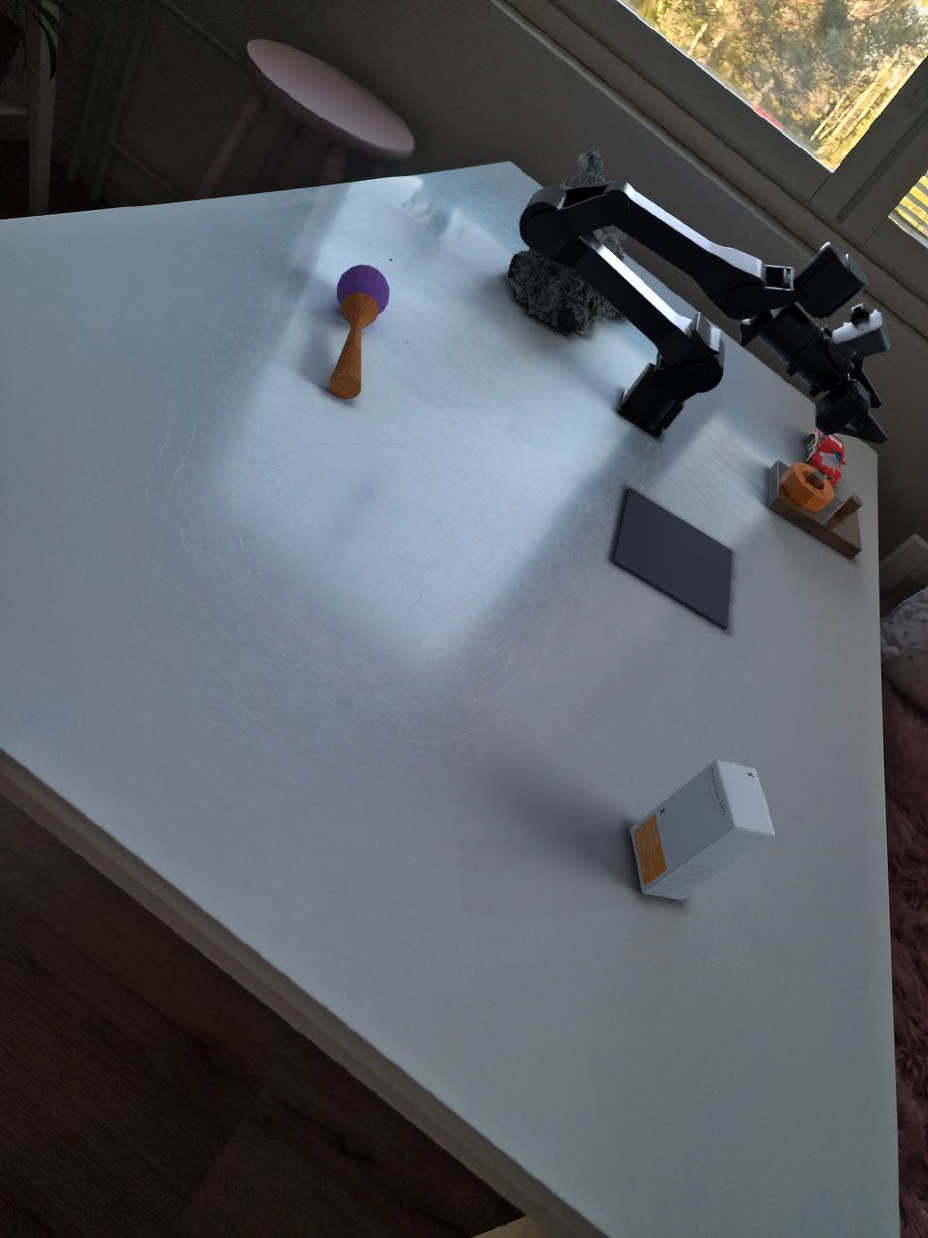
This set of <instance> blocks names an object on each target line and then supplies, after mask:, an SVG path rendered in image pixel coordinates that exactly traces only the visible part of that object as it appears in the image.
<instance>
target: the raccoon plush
mask: <svg viewBox="0 0 928 1238" xmlns="http://www.w3.org/2000/svg"><path fill="white" fill-rule="evenodd" d="M601 157H602V155H601V153H599V150H596V149H595V146H592V147H591V148H590V149H589V150H587V152H584V153H580V154H579V156H578V157H577V165H578V166H577V168H578V172H576V173H574V174H573V175H571V177H569V178H567V179H565V181H562V183H561V184H559V185H556V186H557V187H560V188H562V189H563V190H565V189H569V188H573V187H577V186H588V185H602V184H607V183H611V182H614V181H613V180H610V179H606V176H605V175H604V173H605V169H604V167H605V166H604V162H603V159H601ZM593 233H594V235H595V236H596V238H597V239H598V240H599V241H600V242H601V243H602V244H603V245H604V246H605V247H606V248H607V249H608V250H609V251H610V252H612V253H613V254H614V255H615V256H616V257H617V258H618V259H619V260H620V261H621V262H622V263H623V264H624V261H625V259H626V256H625V255H624V252H623V251H624V248H623V247H622V246H621V243H622V244H623V243H624V242H626V241H627V237H628V235H627V234H626V233H624V232H623V231H621V230H620V229H618V228H617V227H615V226H613V225H612V226H608V227H603V228H600V229H598V230H595V231H593ZM632 272H633V273H634V274H635V275H636V276H637V277H638V278H639V279H640V280H641V281H642V282H643V279H642V278H641V277H640V275H638V274H637V273H636V271H632ZM507 278H508V281H509V283H510V287H512V289H513V295H514V296H515V299H516V301H517V300H518V302H519V303H521V304H522V303H523V304H527V306H526V308H527V310H528V312H527V314H528V315H532V316H534V317H538V320H540V321H541V322H543V323H544V324H546V325H547V324H549V323H550V325H551V327H554V328H556V330H557V331H559V332H561V333H562V334H564V335H566V336H568V337H573V336H576V334H580V335H581V336H590V335H591V334H590V331H591V330H592V328H594V325H595V324H596V322H598V321H599V319H600V318H601V316H605V317H610V318H612V317H614V318H616V319H622V318H625V317H624V316H623V315H622V314H621V313H620V312H619V311H618V310H617V309H615V308H614V307H613V306H612V305H611V304H610V303H609V302H608V301H607V300H606V299H605V298H604V297H602V296H601V295H600V294H599V293H598V292H597V291H596V290H595V289H594V288H593V287H592V286H591V285H589V284H588V283H587V282H586V281H585V280H584V279H583V278H582V277H581V276H580V275H579V274H578V273H576V272H575V271H574V270H573V269H571V268H569V267H566V266H563V265H560V264H558V263H555V262H552V261H550V260H548V259H547V258H545V257H543V256H542V255H540V254H539V253H537V252H536V251H534V250H533V249H531V248H530V247H528V250H523V249H520V251H519V252H517V253H514V254H513V256H512V257H511V258H510V263H509V266H508V270H507Z"/></svg>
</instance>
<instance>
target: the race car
mask: <svg viewBox="0 0 928 1238" xmlns="http://www.w3.org/2000/svg"><path fill="white" fill-rule="evenodd" d="M804 444H805V446H806V449H805V450H806V451H805V452H806V453H805V464H807V465H810V466H812V467H814V468H815V469H816V470H817V471H819V472H820V473H821V474H822V475H823V476H825V477H826V479H827V480H828V482H829V483H830V484H831V486H832V487H833V488H834V486H836V485H837V484H838V483H839V482H840V480H841V478H842V469H843V465H844V466H846V465H847V463H846V462H845V461H844V459H845V444H844V441H843V440H842V439H841V437H839V436H838V434H837V433H835V434H833V435H832V434H830V435H827V436H825V435H824V434H823V433H822V432H821V431H820V430H819V429H818V428H817V427H816V428H814V429H813V431H811V432H810V434H809V435H808V436H807V438H806V440H805V443H804Z"/></svg>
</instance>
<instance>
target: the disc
mask: <svg viewBox="0 0 928 1238" xmlns="http://www.w3.org/2000/svg"><path fill="white" fill-rule="evenodd" d="M789 467H790V468H789V469H788V470H787V471H786V472H785V473H784V474H783V475H782V485H783V487H784V488H785V490H786V492H787V493H788V495H789V496H790V497H791V498H792V499H794V500H795V501H796V502H797V503H798V504H800V505H801V506H802V507H804V508H806V509H809V510H811V511H814V512H815V511H819V510H822V509H823V508H824V507H825V506H826V505H827V504H828V503H829V502H830V501H831V500H832V499H833V498H834V496H835V492H834V490H835V489H834V486H833V487H832V486H831V484H830V483H829V482H828V480H827V479H826V477H825V476H824V478H825V480H824V481H823V482H822V483H821V484H820V485H819V486H818V487H817V488H814V487H813V486H812V485H810V484H809V483H808V482H807V481H806V479H805V478H806V477H807V476H808V475H809V474H810V473H811V472H812V471H813V470H816V469H815V468H814V467H812V466H810V465H807V464H806V462H802V461H798V462H793V463H792V464H791V465H790V466H789Z"/></svg>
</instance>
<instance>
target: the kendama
mask: <svg viewBox="0 0 928 1238" xmlns="http://www.w3.org/2000/svg"><path fill="white" fill-rule="evenodd" d="M336 299H337V301H338V303H339V305H340V308H341V310H340V311H341V313H342V315H343V317H344V319H345V320H346V322H347V323H348V325H349V327H350V329H349V332H348V334H347V337H346V339H345V342H344V344H343V347H342V349H341V352H340V354H339V356H338V359H337V362H336V364H335V367H334V368H333V372H332V374H331V377H330V380H329V382H328V385H329V386H328V387H329V390H330V392H331V393H332V394H333V395H334V396H335V397H337V398H339V399H342V400H351V399H355V398H357V397H358V396H359V395H360V394H361V392H362V330H363V329H365V328H367V327H368V326H369V325H371V324H372V323H374V322H375V321H376V320H377V318H378V316H380V315H381V314H382V313H383V312H384V311H385V310H386V308H387V307H388V304H389V300H390V285H389V283H388V280H387V279H386V277H385V275H384V274H383V273H382V272H381V271H380V270H379V269H378V268H376V267H374V266H372V265H370V264H356V265H352V266H351V267H350V268H348V269H347V270H346V271H344V272H343V273H342V274H341V275H340V278H339V279H338V281H337V285H336Z"/></svg>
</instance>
